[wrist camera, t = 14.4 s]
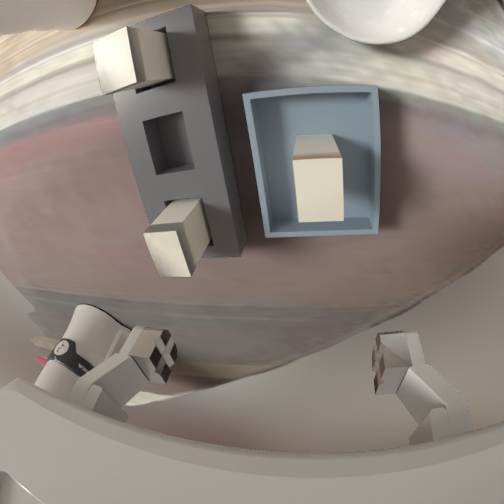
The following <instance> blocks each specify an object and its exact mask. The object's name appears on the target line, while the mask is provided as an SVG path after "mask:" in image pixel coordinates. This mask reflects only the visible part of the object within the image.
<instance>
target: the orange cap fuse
mask: <svg viewBox="0 0 504 504" xmlns="http://www.w3.org/2000/svg"><path fill="white" fill-rule="evenodd" d="M293 169H294V179H295V188H296V198H297V209H298V220H299V222H324V221H344V200H343V167H342V156H341V154H340V152H339V149H338V147H337V145H336V142H335V140H334V138H333V136H332V134H317V135H300V136H297V137H296V142H295V148H294V154H293Z"/></svg>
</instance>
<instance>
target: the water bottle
mask: <svg viewBox="0 0 504 504" xmlns="http://www.w3.org/2000/svg"><path fill="white" fill-rule="evenodd" d="M96 2H97V0H0V36H1V35H8V34H14V33H20V32H25V31H30V30H31V31H48V30H73V29H76V28H78V27H79V26H81V25H82V24H83V23H84V22H85V21H86V20H87V19H88V18H89V17H90V15H91V14H92V12H93V10H94V8H95V5H96Z"/></svg>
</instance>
